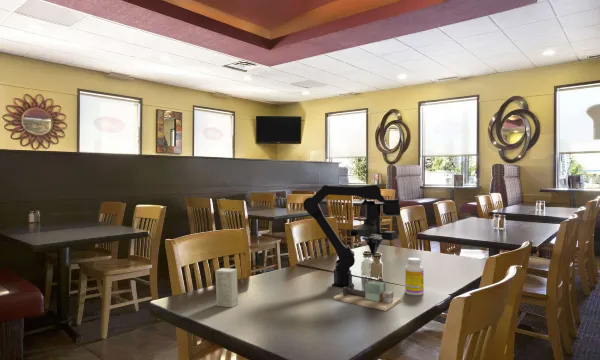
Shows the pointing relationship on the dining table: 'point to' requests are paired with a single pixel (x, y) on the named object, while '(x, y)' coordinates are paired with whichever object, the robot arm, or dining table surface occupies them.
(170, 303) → the dining table surface
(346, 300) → the cable board
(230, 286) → the skincare box
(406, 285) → the supplement bottle
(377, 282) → the mint green cube
